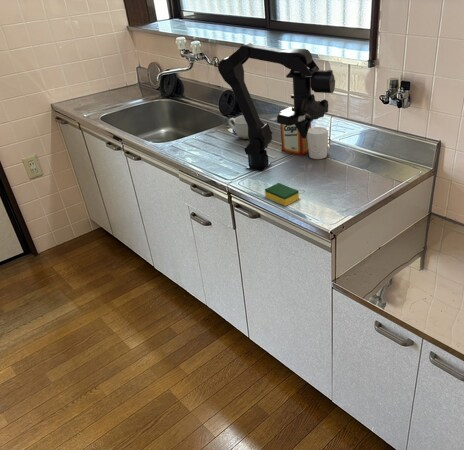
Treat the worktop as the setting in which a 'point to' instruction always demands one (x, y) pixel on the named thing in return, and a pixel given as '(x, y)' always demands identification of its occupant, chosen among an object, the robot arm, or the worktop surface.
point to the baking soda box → (293, 138)
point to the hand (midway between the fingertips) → (304, 138)
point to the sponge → (282, 194)
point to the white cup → (317, 142)
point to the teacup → (240, 126)
